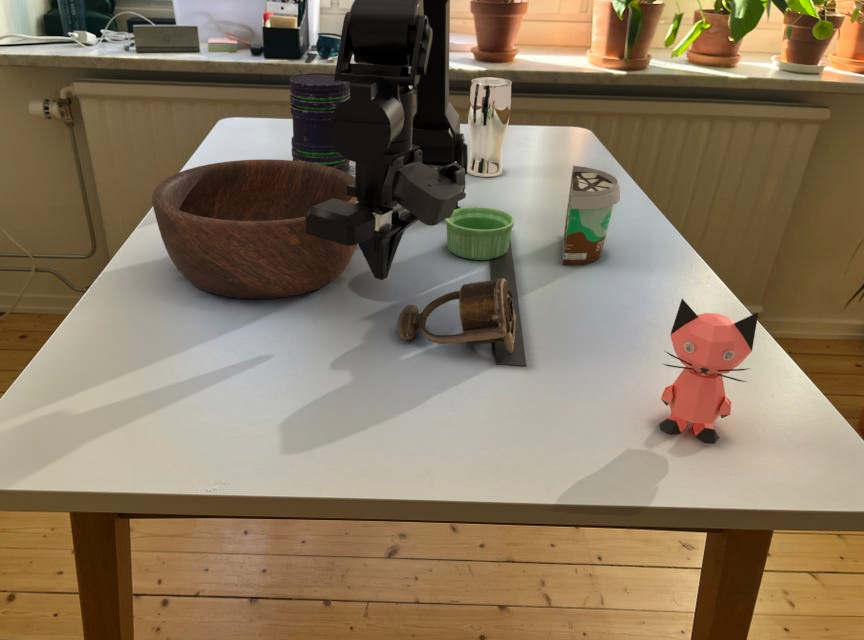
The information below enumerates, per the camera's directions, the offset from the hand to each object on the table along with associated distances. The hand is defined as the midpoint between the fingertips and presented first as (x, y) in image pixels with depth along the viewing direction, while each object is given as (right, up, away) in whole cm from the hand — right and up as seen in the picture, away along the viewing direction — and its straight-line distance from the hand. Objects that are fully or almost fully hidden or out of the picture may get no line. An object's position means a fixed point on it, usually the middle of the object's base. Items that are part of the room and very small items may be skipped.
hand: (380, 278), depth 90 cm
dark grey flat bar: (+15, 0, +8) cm, 17 cm away
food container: (+27, +5, +19) cm, 33 cm away
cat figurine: (+28, -15, -17) cm, 36 cm away
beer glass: (+18, +23, +50) cm, 58 cm away
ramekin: (+13, +6, +19) cm, 23 cm away
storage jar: (-10, +23, +49) cm, 55 cm away
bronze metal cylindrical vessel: (+8, -7, -3) cm, 11 cm away
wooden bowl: (-15, +2, +12) cm, 19 cm away
